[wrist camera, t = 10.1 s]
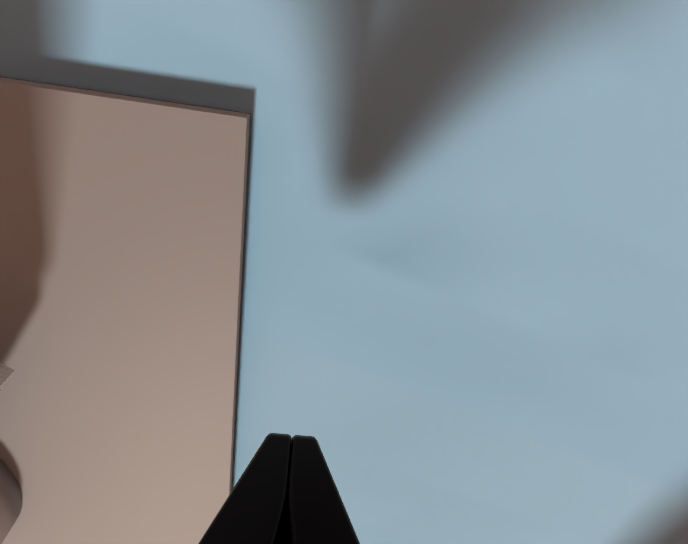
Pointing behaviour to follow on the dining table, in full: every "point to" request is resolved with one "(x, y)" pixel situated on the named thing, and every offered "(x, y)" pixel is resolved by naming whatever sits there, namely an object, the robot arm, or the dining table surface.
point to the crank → (4, 375)
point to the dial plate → (117, 314)
